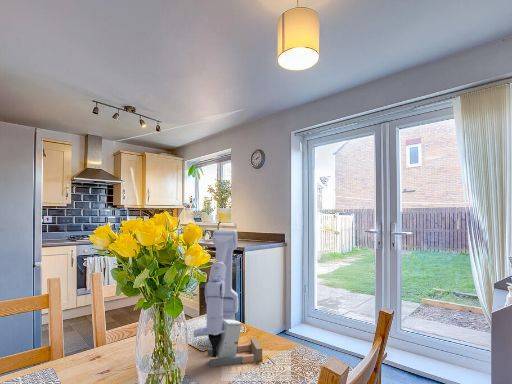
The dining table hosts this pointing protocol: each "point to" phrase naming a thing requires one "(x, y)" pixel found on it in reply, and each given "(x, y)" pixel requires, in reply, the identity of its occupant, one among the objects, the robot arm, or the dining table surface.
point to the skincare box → (229, 339)
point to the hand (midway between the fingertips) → (214, 356)
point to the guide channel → (252, 347)
